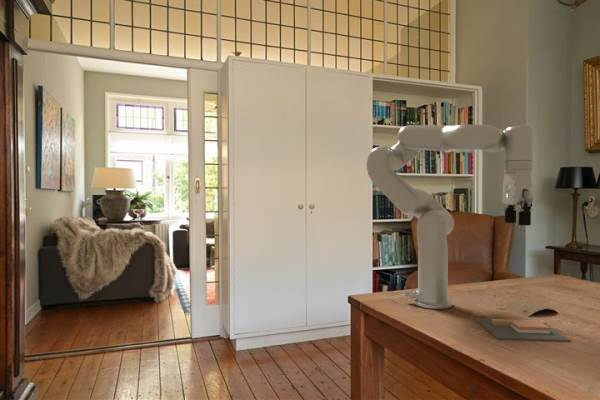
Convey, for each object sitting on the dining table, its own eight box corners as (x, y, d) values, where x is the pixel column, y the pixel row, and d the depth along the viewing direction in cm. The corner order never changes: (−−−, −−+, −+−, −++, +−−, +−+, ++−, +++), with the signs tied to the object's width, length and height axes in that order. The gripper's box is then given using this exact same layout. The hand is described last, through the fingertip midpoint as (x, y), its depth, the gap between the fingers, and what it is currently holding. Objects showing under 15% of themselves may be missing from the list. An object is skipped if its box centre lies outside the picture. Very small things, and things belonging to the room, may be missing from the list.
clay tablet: (534, 306, 138) (534, 298, 138) (562, 314, 129) (562, 306, 129) (500, 310, 133) (501, 302, 133) (527, 319, 124) (527, 310, 124)
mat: (497, 339, 105) (497, 332, 105) (476, 319, 121) (476, 314, 121) (570, 341, 103) (570, 335, 103) (539, 321, 119) (539, 316, 119)
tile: (510, 326, 114) (518, 332, 109) (510, 320, 114) (518, 326, 109) (540, 327, 113) (550, 333, 108) (540, 321, 113) (550, 327, 108)
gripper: (494, 169, 132) (493, 221, 132) (517, 165, 115) (516, 226, 115) (518, 169, 131) (517, 222, 132) (545, 165, 114) (544, 226, 114)
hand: (517, 224), depth 123 cm, fingers open, 9 cm apart
